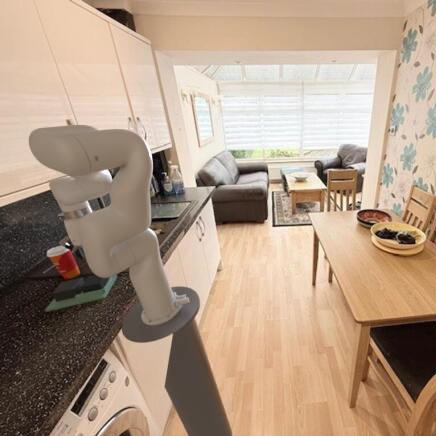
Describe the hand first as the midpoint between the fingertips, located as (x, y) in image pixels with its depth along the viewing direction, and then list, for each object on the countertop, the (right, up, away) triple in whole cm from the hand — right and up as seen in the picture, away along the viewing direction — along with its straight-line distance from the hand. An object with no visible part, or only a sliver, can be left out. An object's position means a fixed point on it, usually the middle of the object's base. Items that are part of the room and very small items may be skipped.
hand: (98, 253), depth 91 cm
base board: (-9, -17, +4) cm, 19 cm away
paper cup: (-24, -12, +16) cm, 31 cm away
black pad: (-5, -15, +5) cm, 16 cm away
